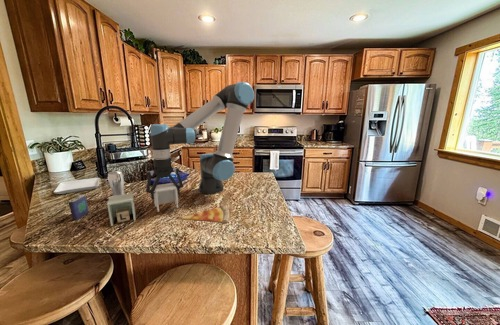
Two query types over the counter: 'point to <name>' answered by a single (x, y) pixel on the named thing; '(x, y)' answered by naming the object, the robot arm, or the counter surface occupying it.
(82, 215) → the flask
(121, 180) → the beer glass
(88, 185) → the salad plate
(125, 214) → the letter cube
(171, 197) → the grey mini stool
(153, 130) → the robot arm
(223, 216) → the pizza slice
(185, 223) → the counter surface
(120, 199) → the sage hood
